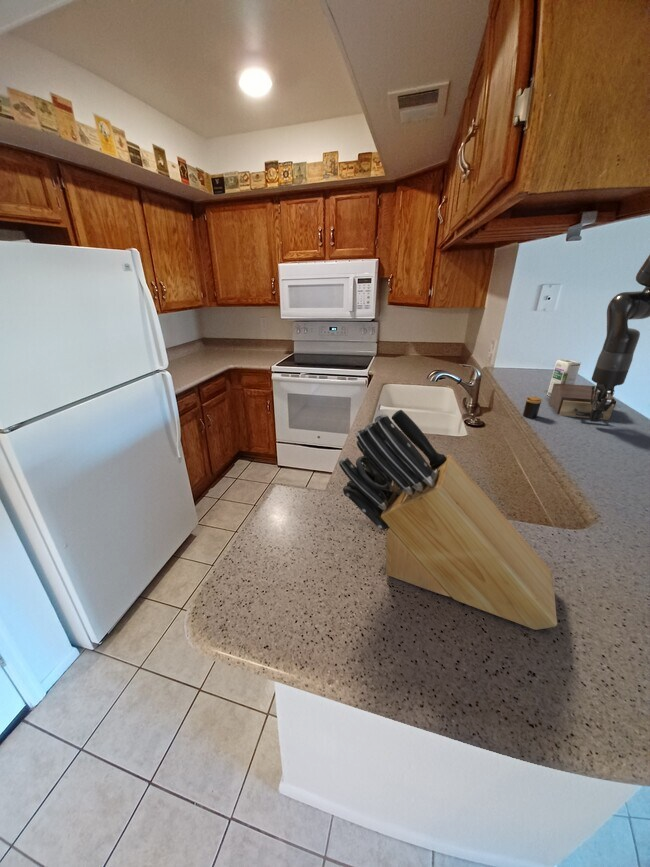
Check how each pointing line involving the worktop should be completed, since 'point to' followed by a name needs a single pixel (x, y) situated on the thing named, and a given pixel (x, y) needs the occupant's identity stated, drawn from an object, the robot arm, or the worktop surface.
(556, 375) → the syrup box
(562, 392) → the cabinet
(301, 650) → the worktop surface
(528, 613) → the knife block
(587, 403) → the drawer
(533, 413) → the spice tin
